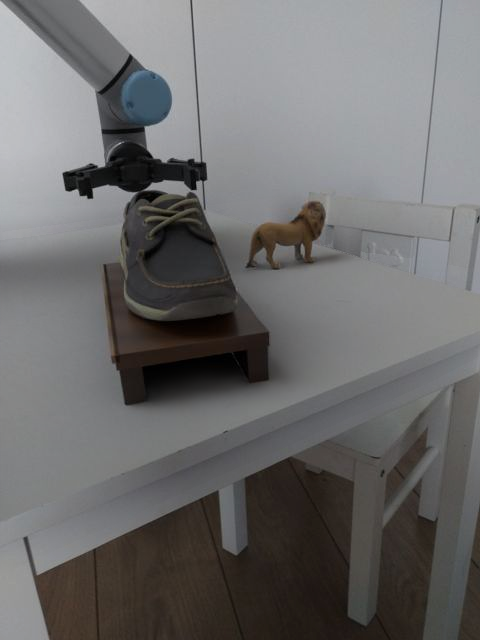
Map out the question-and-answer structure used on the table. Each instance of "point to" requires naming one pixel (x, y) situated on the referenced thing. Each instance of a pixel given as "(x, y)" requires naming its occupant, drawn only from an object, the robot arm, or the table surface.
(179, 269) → the boat shoe
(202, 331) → the shoe shelf
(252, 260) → the lion figurine
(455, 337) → the table surface
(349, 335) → the table surface
